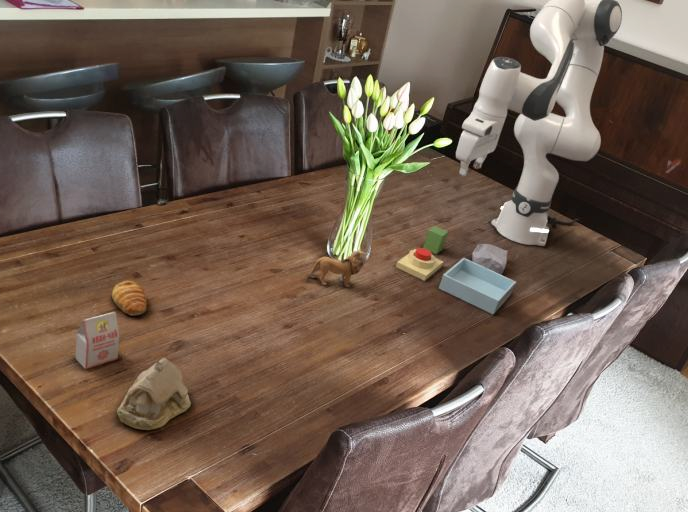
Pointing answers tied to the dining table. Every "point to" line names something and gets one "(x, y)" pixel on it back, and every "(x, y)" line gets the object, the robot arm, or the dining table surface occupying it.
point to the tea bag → (97, 340)
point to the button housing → (419, 265)
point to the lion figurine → (340, 267)
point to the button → (423, 254)
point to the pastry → (130, 298)
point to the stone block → (490, 257)
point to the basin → (477, 285)
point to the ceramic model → (155, 397)
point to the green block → (435, 239)
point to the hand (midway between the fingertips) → (469, 171)
